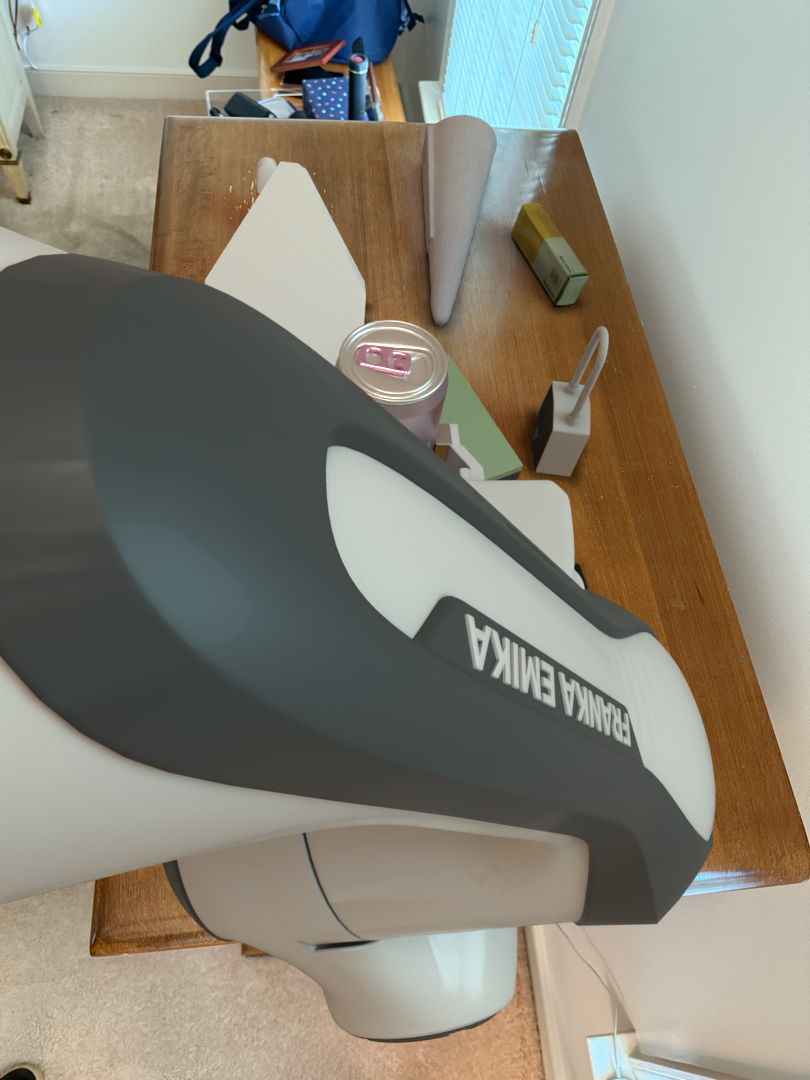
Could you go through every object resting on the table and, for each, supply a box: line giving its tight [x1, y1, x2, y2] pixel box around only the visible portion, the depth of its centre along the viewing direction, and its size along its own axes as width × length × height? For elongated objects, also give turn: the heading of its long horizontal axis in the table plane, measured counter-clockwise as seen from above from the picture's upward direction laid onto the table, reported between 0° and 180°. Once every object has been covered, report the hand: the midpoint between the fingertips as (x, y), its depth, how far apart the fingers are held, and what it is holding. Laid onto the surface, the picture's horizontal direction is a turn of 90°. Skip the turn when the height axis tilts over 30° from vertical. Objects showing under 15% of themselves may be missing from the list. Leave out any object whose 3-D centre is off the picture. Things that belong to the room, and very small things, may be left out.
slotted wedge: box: [204, 160, 367, 366], centre depth 69 cm, size 14×11×18 cm
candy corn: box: [255, 156, 278, 199], centre depth 78 cm, size 6×3×8 cm, turn 3°
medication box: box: [510, 202, 590, 307], centre depth 81 cm, size 12×3×4 cm, turn 22°
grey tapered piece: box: [421, 114, 498, 326], centre depth 81 cm, size 8×9×26 cm
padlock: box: [530, 325, 610, 477], centre depth 65 cm, size 7×4×15 cm, turn 175°
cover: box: [439, 353, 524, 480], centre depth 64 cm, size 14×14×1 cm
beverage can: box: [335, 319, 448, 451], centre depth 44 cm, size 6×6×15 cm
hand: (381, 429), depth 44 cm, fingers closed on beverage can, 6 cm apart
